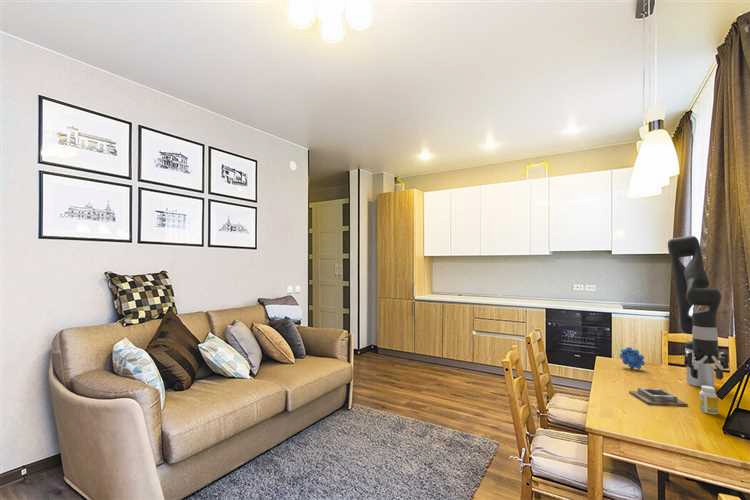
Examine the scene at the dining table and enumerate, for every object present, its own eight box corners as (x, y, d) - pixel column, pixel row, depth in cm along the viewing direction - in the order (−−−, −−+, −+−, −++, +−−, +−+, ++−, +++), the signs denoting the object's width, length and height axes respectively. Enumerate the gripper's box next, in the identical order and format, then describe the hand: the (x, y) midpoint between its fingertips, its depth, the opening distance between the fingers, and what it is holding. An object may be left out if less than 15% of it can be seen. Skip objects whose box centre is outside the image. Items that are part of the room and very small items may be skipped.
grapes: (619, 368, 202) (618, 347, 203) (620, 366, 208) (619, 345, 208) (645, 372, 195) (644, 350, 196) (645, 369, 201) (644, 347, 201)
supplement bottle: (697, 410, 144) (696, 386, 144) (703, 408, 146) (702, 384, 147) (714, 415, 139) (713, 390, 139) (721, 413, 141) (720, 388, 142)
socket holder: (665, 394, 162) (665, 387, 162) (687, 406, 148) (687, 398, 148) (629, 392, 164) (628, 386, 164) (647, 404, 150) (647, 397, 151)
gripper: (717, 336, 147) (719, 376, 146) (678, 335, 149) (680, 375, 148) (732, 340, 139) (735, 382, 138) (691, 339, 141) (693, 380, 141)
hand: (706, 378), depth 143 cm, fingers open, 8 cm apart
